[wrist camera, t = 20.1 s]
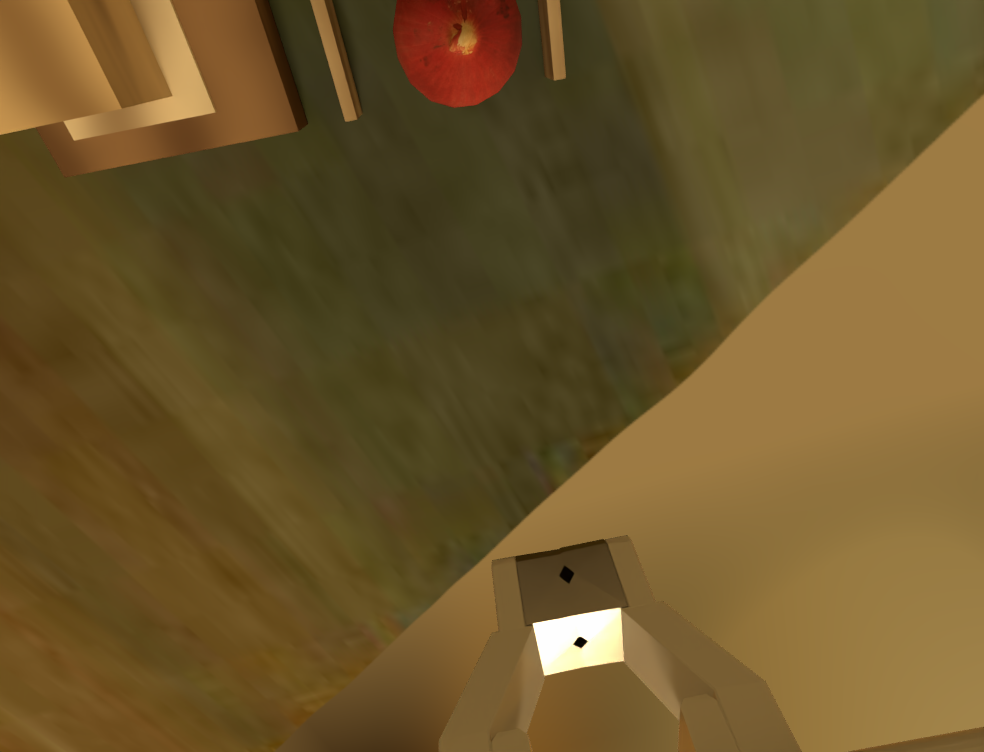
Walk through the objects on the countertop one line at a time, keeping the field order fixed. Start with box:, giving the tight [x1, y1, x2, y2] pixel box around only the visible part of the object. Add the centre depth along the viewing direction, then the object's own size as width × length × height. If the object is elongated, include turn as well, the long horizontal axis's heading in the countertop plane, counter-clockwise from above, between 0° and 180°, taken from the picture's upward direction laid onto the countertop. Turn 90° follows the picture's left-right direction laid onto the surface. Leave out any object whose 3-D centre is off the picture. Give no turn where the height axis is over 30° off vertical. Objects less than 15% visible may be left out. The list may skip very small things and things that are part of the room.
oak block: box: [0, 0, 172, 135], centre depth 22 cm, size 5×5×5 cm
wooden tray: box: [36, 0, 566, 177], centre depth 25 cm, size 26×10×3 cm, turn 99°
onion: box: [393, 0, 522, 108], centre depth 24 cm, size 6×6×8 cm
